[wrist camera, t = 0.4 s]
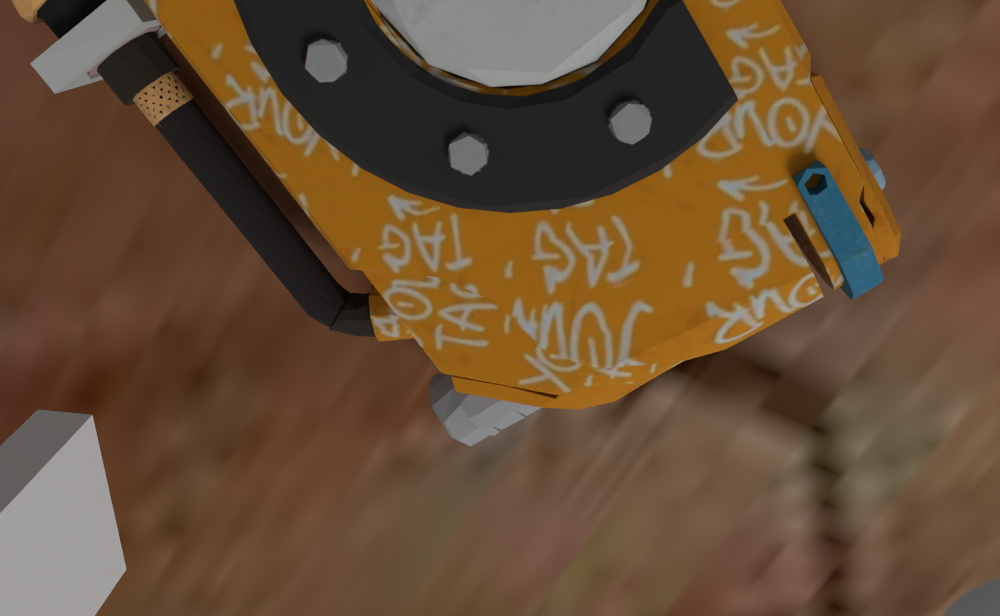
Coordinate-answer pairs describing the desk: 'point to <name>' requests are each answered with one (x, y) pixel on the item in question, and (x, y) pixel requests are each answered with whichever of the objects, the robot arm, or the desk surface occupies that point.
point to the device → (513, 173)
